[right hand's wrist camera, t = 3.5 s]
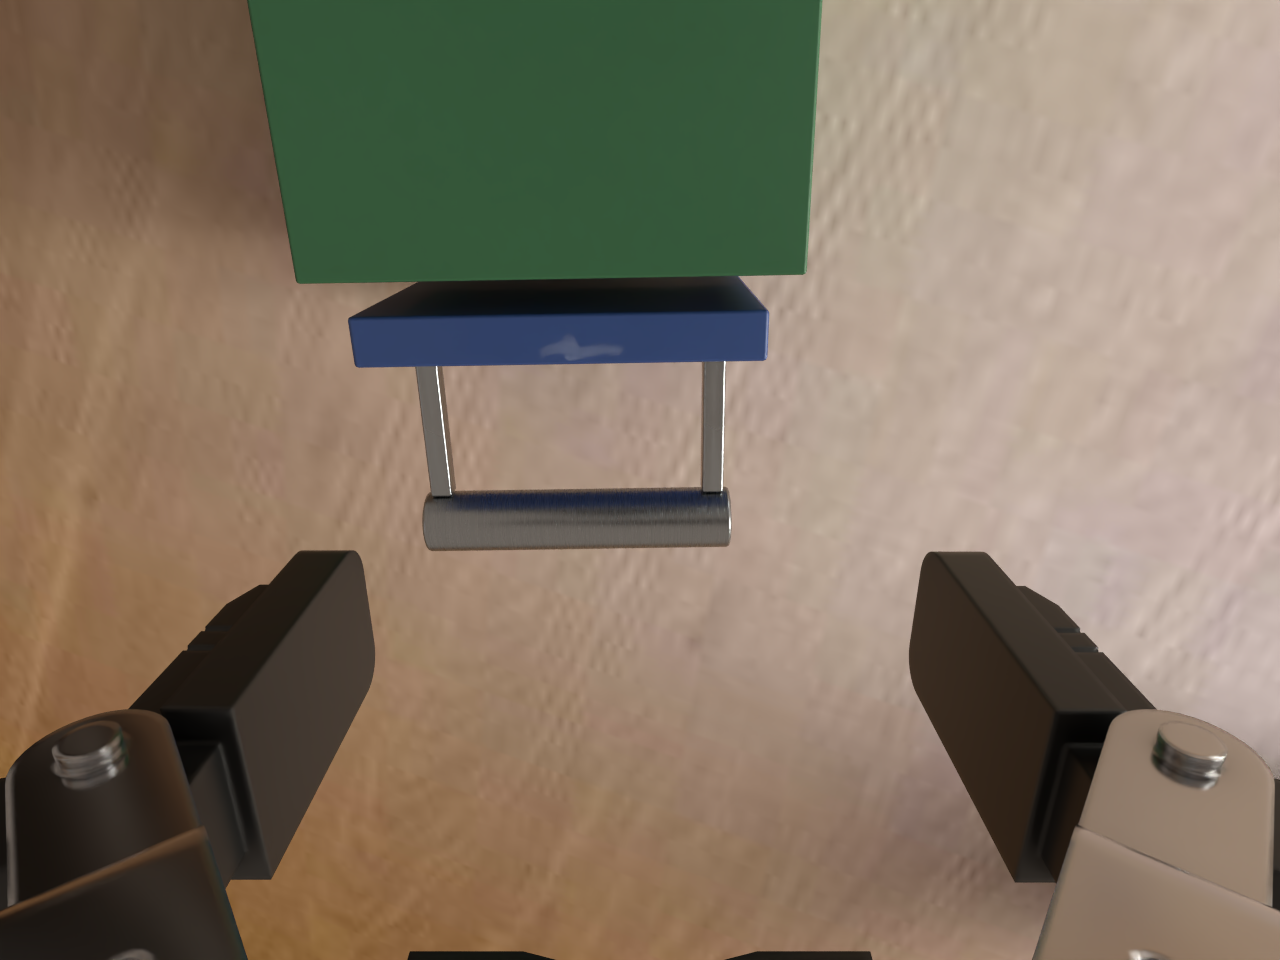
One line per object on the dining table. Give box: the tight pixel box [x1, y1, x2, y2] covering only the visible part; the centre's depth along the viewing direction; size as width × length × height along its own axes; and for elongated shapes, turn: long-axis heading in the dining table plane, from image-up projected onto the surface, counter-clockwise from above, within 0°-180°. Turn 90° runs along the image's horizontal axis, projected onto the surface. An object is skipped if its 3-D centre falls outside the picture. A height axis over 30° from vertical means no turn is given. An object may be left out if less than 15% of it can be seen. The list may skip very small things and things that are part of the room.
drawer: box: [348, 276, 769, 551], centre depth 21 cm, size 25×10×10 cm, turn 1°
